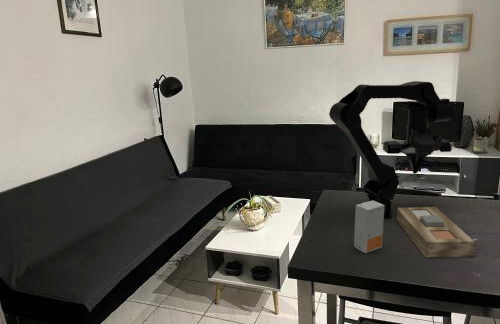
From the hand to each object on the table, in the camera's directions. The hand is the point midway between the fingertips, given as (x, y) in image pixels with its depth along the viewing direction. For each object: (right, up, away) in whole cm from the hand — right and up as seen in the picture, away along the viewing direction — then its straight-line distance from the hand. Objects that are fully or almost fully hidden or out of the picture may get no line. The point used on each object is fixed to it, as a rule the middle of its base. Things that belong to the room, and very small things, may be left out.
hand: (414, 173), depth 118 cm
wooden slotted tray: (-2, -17, -15) cm, 23 cm away
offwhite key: (-2, -13, -9) cm, 16 cm away
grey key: (-3, -14, -16) cm, 21 cm away
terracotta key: (-3, -17, -23) cm, 28 cm away
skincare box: (-21, -19, -20) cm, 34 cm away
